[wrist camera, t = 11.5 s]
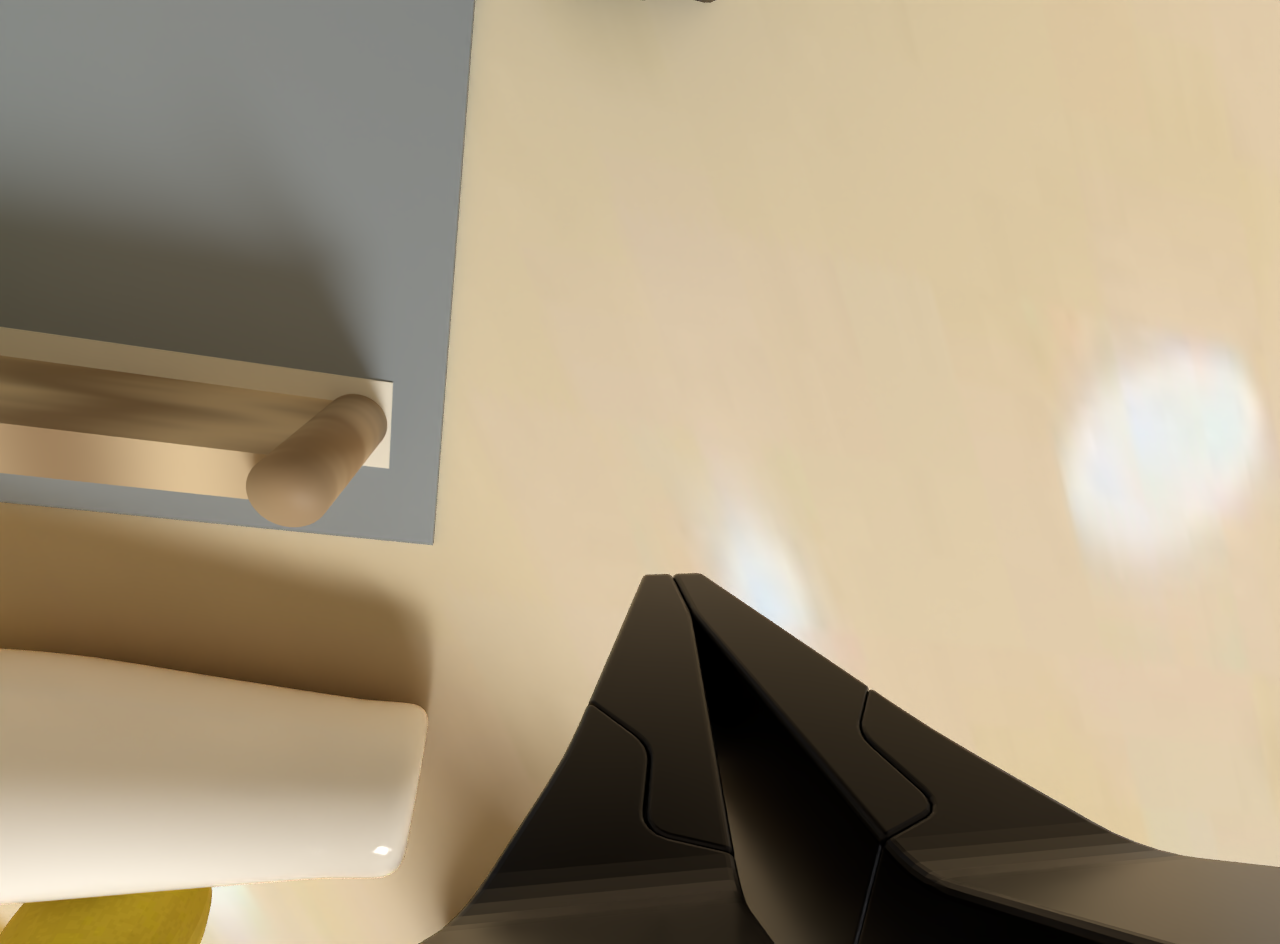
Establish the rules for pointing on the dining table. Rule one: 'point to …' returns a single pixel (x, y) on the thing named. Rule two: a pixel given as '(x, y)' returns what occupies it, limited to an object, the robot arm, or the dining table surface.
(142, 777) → the white tumbler
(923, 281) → the dining table surface
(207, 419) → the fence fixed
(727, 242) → the dining table surface
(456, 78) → the card
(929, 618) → the dining table surface
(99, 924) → the lemon
